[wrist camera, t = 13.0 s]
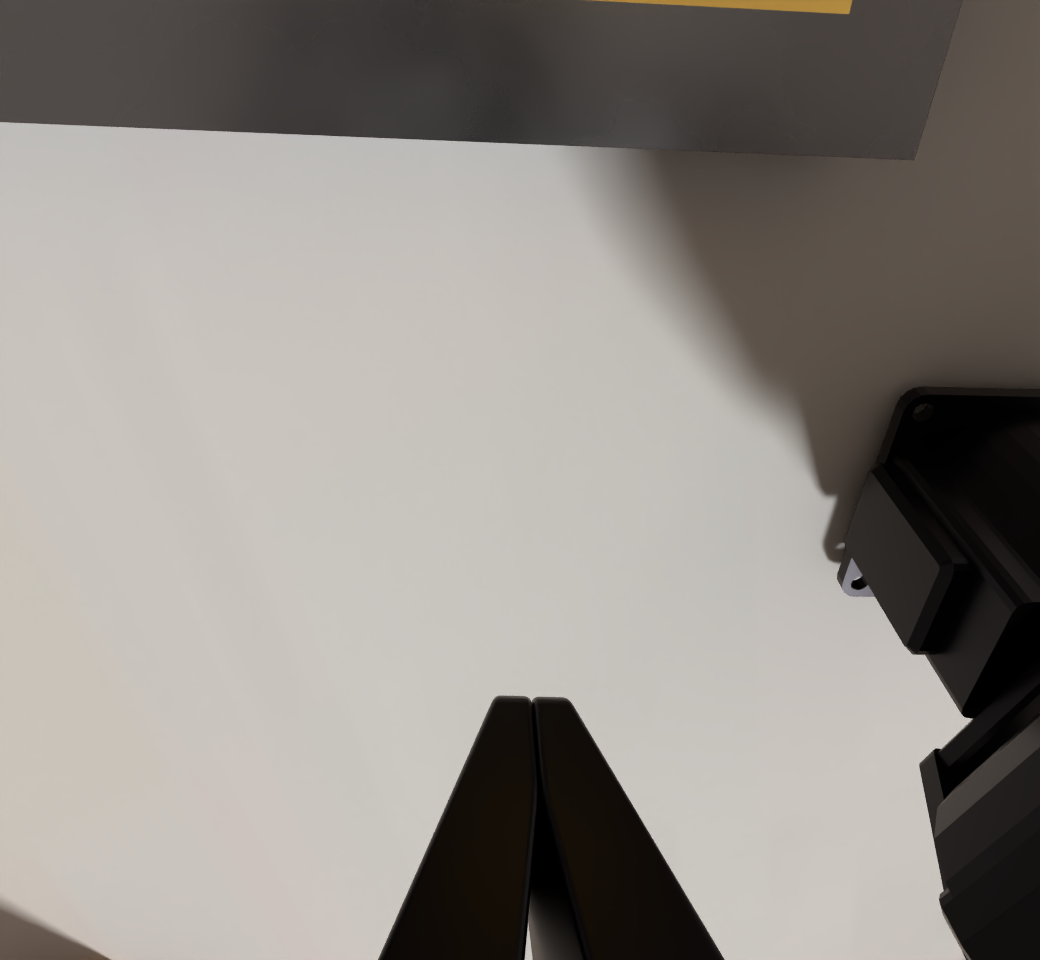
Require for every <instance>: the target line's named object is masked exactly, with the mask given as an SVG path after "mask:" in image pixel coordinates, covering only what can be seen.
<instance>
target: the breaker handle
mask: <svg viewBox="0 0 1040 960" xmlns="http://www.w3.org/2000/svg"><path fill="white" fill-rule="evenodd" d="M593 1H612V2H630V3H649V4H668V5H687V6H705V7H724V8H743V9H762V10H781V11H799V12H818V13H837V14H849V12H850V8H851V4H852V0H593Z"/></svg>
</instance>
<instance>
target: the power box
mask: <svg viewBox="0 0 1040 960" xmlns="http://www.w3.org/2000/svg"><path fill="white" fill-rule="evenodd" d="M961 4H962V0H852V4H851V8H850V12H849V14H837V13H818V12H799V11H781V10H762V9H743V8H724V7H705V6H687V5H668V4H649V3H630V2H612V1H593V0H0V122H14V123H38V124H62V125H86V126H110V127H134V128H158V129H182V130H206V131H230V132H254V133H278V134H302V135H326V136H350V137H374V138H398V139H422V140H446V141H470V142H494V143H518V144H542V145H566V146H590V147H614V148H638V149H662V150H686V151H710V152H734V153H758V154H782V155H806V156H830V157H854V158H878V159H902V160H914V159H915V155H916V152H917V149H918V145H919V142H920V139H921V136H922V132H923V129H924V126H925V122H926V119H927V116H928V112H929V109H930V106H931V103H932V99H933V96H934V93H935V89H936V86H937V83H938V80H939V76H940V73H941V70H942V66H943V63H944V60H945V56H946V53H947V50H948V47H949V43H950V40H951V37H952V33H953V30H954V27H955V23H956V20H957V17H958V14H959V10H960V7H961Z"/></svg>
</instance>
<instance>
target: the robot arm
mask: <svg viewBox="0 0 1040 960" xmlns="http://www.w3.org/2000/svg"><path fill="white" fill-rule="evenodd" d="M925 403H926V406H925V407H924V409H923V410H921V411H920V412H918V413H914V414H913V411H914V410H915V408H916V407H918V406H919V405H921V404H925ZM845 547H846V551H845V554H844V556H843V559H842V562H841V565H840V568H839V571H838V574H837V580H838V582H839V584H840V586H841V587H842V589H843V591H844V593H846V594H847V595H849V596H862V597H876V599H877V601H878V602H879V604H880V606H881V607H882V609H883V611H884V612H885V614H886V616H887V618H888V619H889V621H890V623H891V624H892V626H893V628H894V629H895V631H896V633H897V634H898V636H899V638H900V639H901V641H902V643H903V644H904V646H905V647H906V648H907V649H908V650H909V651H910V652H911V653H912V654H916V655H926V657H927V659H928V660H929V662H930V664H931V665H932V667H933V668H934V670H935V672H936V673H937V675H938V677H939V678H940V680H941V681H942V683H943V685H944V686H945V688H946V690H947V691H948V693H949V694H950V696H951V698H952V699H953V701H954V703H955V704H956V706H957V707H958V709H959V711H960V712H961V714H962V715H963V716H964V717H966V718H974V719H972V720H971V721H970V722H969V723H968V724H967V725H966V726H965V727H964V728H963V729H962V730H961V731H960V732H959V733H958V734H957V735H956V736H955V737H954V738H952V739H951V740H950V741H949V742H948V743H947V744H946V745H945V746H944V747H943V748H942V749H934V750H933V751H932V752H931V753H930V754H929V755H928V756H927V757H926V758H925V759H924V760H923V761H922V762H921V763H920V766H919V767H920V772H921V777H922V782H923V787H924V792H925V797H926V802H927V807H928V813H929V818H930V823H931V828H932V833H933V838H934V843H935V848H936V853H937V858H938V864H939V869H940V874H941V879H942V884H943V889H944V891H943V892H942V893H941V894H940V898H939V901H940V905H941V909H942V913H943V916H944V918H945V920H946V922H947V924H948V926H949V927H950V929H951V931H952V933H953V935H954V937H955V939H956V940H957V942H958V944H959V946H960V948H961V950H962V952H963V954H964V956H965V958H966V960H1040V389H1001V388H958V387H917V388H913V389H911V390H909V391H907V392H906V393H904V394H903V395H902V396H901V397H900V399H899V400H898V402H897V404H896V407H895V409H894V412H893V415H892V418H891V421H890V424H889V427H888V430H887V433H886V435H885V438H884V441H883V444H882V447H881V450H880V453H879V456H878V458H877V461H876V464H875V465H874V466H873V468H872V469H871V470H870V471H869V473H868V475H867V478H866V481H865V484H864V487H863V490H862V493H861V496H860V499H859V502H858V504H857V507H856V510H855V513H854V516H853V519H852V522H851V525H850V528H849V531H848V534H847V536H846V539H845ZM861 576H862V577H861ZM857 577H861V578H859V579H857V580H854V579H855V578H857ZM528 922H529V931H530V939H531V948H532V956H533V960H724V958H723V956H722V955H721V953H720V951H719V950H718V948H717V946H716V945H715V943H714V941H713V939H712V938H711V936H710V934H709V933H708V931H707V929H706V928H705V926H704V924H703V923H702V921H701V919H700V918H699V916H698V914H697V913H696V911H695V909H694V908H693V906H692V904H691V903H690V901H689V899H688V897H687V896H686V894H685V892H684V891H683V889H682V887H681V886H680V884H679V882H678V881H677V879H676V877H675V876H674V874H673V872H672V871H671V869H670V867H669V866H668V864H667V862H666V861H665V859H664V857H663V855H662V854H661V852H660V850H659V849H658V847H657V845H656V844H655V842H654V840H653V839H652V837H651V835H650V834H649V832H648V830H647V829H646V827H645V825H644V824H643V822H642V820H641V818H640V817H639V815H638V813H637V812H636V810H635V808H634V807H633V805H632V803H631V802H630V800H629V798H628V797H627V795H626V793H625V792H624V790H623V788H622V787H621V785H620V783H619V782H618V780H617V778H616V776H615V775H614V773H613V771H612V770H611V768H610V766H609V765H608V763H607V761H606V760H605V758H604V756H603V755H602V753H601V751H600V750H599V748H598V746H597V745H596V743H595V741H594V740H593V738H592V736H591V734H590V733H589V731H588V729H587V728H586V726H585V724H584V723H583V721H582V719H581V718H580V716H579V714H578V713H577V711H576V709H575V708H574V706H573V704H572V703H571V702H570V701H569V700H568V699H566V698H563V697H536V698H534V699H533V700H532V703H531V700H530V699H529V698H528V697H525V696H497V697H495V699H494V700H493V701H492V703H491V705H490V708H489V710H488V712H487V714H486V717H485V719H484V721H483V723H482V726H481V728H480V730H479V732H478V735H477V737H476V739H475V742H474V744H473V746H472V748H471V751H470V753H469V755H468V757H467V760H466V762H465V764H464V766H463V769H462V771H461V773H460V775H459V778H458V780H457V782H456V785H455V787H454V789H453V791H452V794H451V796H450V798H449V800H448V803H447V805H446V807H445V809H444V812H443V814H442V816H441V818H440V821H439V823H438V825H437V828H436V830H435V832H434V834H433V837H432V839H431V841H430V843H429V846H428V848H427V850H426V852H425V855H424V857H423V859H422V861H421V864H420V866H419V868H418V871H417V873H416V875H415V877H414V880H413V882H412V884H411V886H410V889H409V891H408V893H407V895H406V898H405V900H404V902H403V904H402V907H401V909H400V911H399V914H398V916H397V918H396V920H395V923H394V925H393V927H392V929H391V932H390V934H389V936H388V938H387V941H386V943H385V945H384V947H383V950H382V952H381V954H380V957H379V959H378V960H524V959H525V948H526V938H527V927H528Z"/></svg>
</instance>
